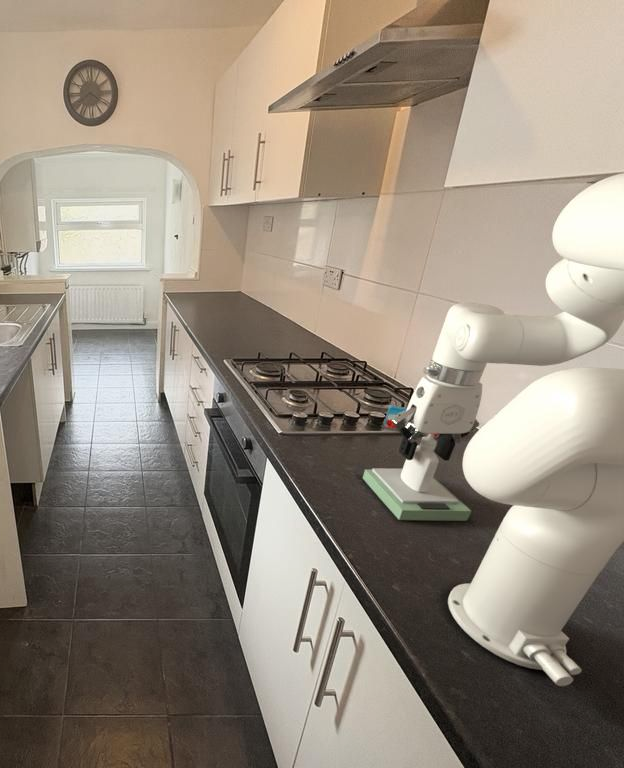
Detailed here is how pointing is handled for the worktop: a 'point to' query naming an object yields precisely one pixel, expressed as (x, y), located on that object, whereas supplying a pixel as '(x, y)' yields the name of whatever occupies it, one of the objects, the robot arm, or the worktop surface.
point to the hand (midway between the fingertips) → (423, 455)
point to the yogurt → (394, 413)
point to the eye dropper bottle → (421, 465)
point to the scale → (415, 497)
